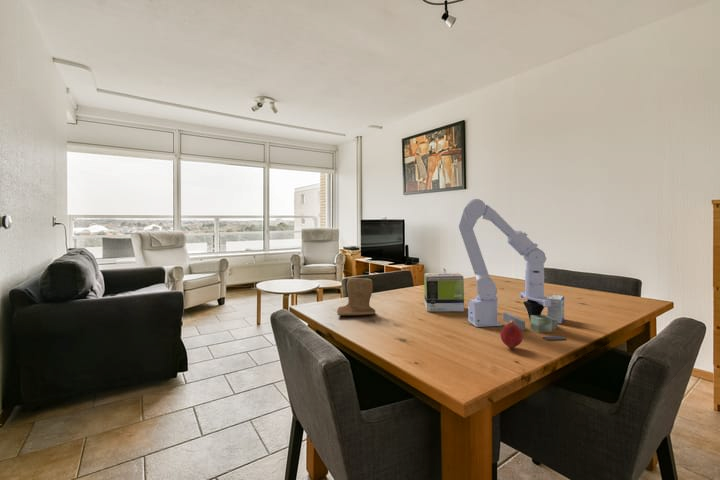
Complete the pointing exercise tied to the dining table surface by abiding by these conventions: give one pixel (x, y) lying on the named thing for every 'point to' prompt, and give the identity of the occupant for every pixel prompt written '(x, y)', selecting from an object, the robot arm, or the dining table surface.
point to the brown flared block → (357, 298)
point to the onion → (511, 335)
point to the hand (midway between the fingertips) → (534, 322)
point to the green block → (541, 323)
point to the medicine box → (556, 308)
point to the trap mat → (554, 338)
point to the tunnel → (521, 323)
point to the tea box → (444, 291)
